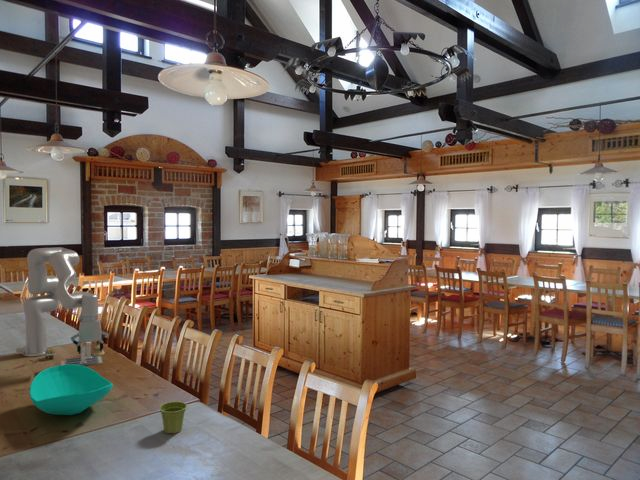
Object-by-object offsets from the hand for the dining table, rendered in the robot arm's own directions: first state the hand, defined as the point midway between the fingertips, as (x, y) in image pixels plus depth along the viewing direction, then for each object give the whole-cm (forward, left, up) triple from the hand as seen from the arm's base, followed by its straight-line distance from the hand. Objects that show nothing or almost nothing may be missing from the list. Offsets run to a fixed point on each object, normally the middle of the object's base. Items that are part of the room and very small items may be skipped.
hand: (90, 351), depth 233 cm
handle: (0, +8, -6) cm, 10 cm away
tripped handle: (-3, 0, -6) cm, 7 cm away
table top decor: (-9, -56, -8) cm, 58 cm away
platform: (-18, +20, -8) cm, 28 cm away
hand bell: (+5, +17, -8) cm, 19 cm away
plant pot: (+22, -91, -8) cm, 94 cm away
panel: (-4, +4, -7) cm, 9 cm away
